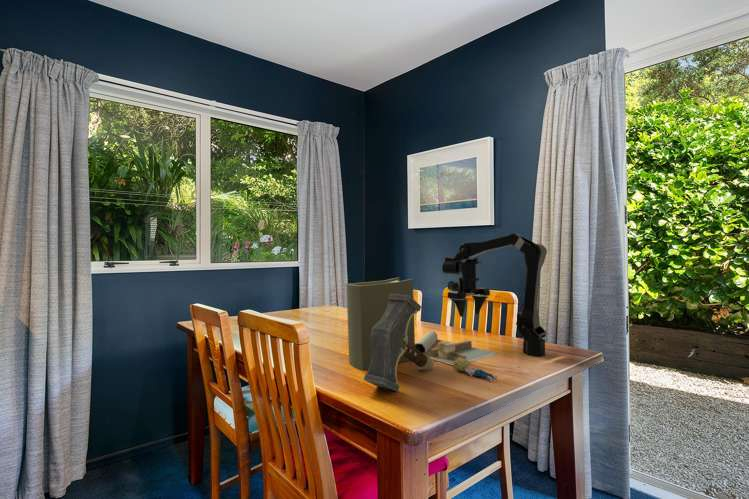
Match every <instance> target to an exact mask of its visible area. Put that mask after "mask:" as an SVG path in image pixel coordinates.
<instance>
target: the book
mask: <svg viewBox="0 0 749 499" xmlns="http://www.w3.org/2000/svg"><path fill="white" fill-rule="evenodd" d="M389 294H399V295H408V296H410V297H411V298H413V299H414V280H413V278H409V279H403V280H401V279H400V277H398V276H397V277H393V278H389V279H385V280H384V279H383V280H376V281H375V280H374V281H364V282H354V283H346V303H347V304H346V307H347V309H346V312H347V336H348V338H347V339H348V363H349V365H350V366H351V367H353V368H355V369H358V370H361V371H364V370H365V371H366V370H369V366H370V360H371V351H372V343H371V331H372V328H373V327H374V326H375V325H376V324H377V323H378V321H379V320H380V319H381V317H382V316H383V315H384V313H385V311H386V309H387V306H388V304H389V300H388V299H389ZM407 336H408V344H410V345H412V346H413V347H415V344H416V340H415V339H416V338H415V336H416V335H415V315H414V316H413V317H412V318H411V320H410V322H409V325H408V330H407ZM401 362H410V361H409V359H407V358H405V357H404V356H401V357H400V359H399V361H398V363H401Z"/></svg>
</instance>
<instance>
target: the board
mask: <svg viewBox="0 0 749 499" xmlns="http://www.w3.org/2000/svg"><path fill="white" fill-rule="evenodd" d="M454 343H455V353H458V354H462V355H466V360H467V362H468V363H469V364H470V363H472V362H475V361H479V360H483V359H486V358H490V357H495V356H497V355H499V353H498V352H494V351H489V350H486V349H481V348H476V347H473V345H472V343H473V342H472V340H465V341H459V342H454ZM429 352H430V353H429V354H430V355H428V356H429V357H430V358H431V359H432V361H434V362H436V363H440V364H443V365H446V366H450V367H454V364H453V363H454V361H455V359H454V358H452V359H443V358H440V357H438V347H433V348H430V349H429ZM454 368H455V367H454Z"/></svg>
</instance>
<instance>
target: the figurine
mask: <svg viewBox="0 0 749 499" xmlns="http://www.w3.org/2000/svg"><path fill="white" fill-rule="evenodd" d="M454 359H455V361H454V363H453V364H452V365H453V366H454V369H455V371H457V372H460V371H461V372H463V373H464V372H465V373H467V375H469V376H470V377H471V378H473V376H475V377H479V378H486V379H489V380H490V383H493V382H497V380H498V376H497V375H494V374H492V373H489V372H487V371H485V370H483V369H479V368H476V367H471V366H470V362H469V363H468V362H467V360H466V359H462V358H461V357H460V356H458V357H457V358H456V357H454ZM493 379H494V380H493Z"/></svg>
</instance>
